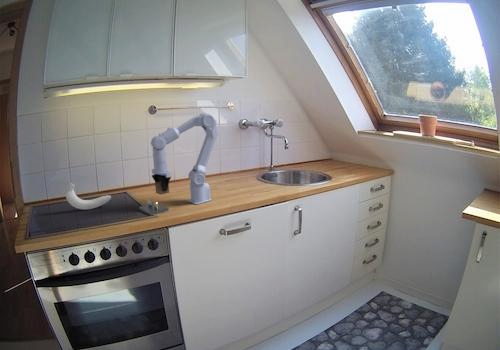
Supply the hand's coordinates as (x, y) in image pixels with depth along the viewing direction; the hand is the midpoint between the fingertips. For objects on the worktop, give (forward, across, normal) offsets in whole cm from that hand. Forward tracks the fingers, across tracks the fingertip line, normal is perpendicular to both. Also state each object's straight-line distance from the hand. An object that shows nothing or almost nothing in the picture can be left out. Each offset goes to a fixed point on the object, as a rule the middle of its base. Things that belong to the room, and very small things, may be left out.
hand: (162, 189), depth 156 cm
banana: (+9, -24, -26) cm, 36 cm away
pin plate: (+8, +1, -6) cm, 10 cm away
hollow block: (+1, 0, 0) cm, 1 cm away
